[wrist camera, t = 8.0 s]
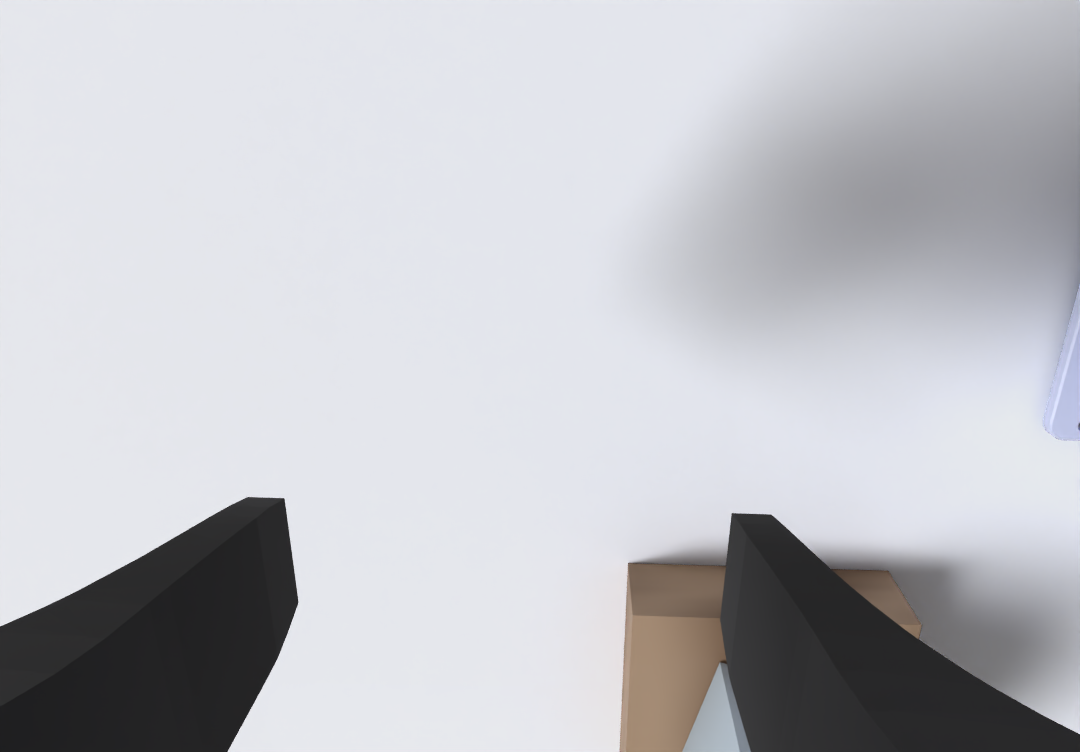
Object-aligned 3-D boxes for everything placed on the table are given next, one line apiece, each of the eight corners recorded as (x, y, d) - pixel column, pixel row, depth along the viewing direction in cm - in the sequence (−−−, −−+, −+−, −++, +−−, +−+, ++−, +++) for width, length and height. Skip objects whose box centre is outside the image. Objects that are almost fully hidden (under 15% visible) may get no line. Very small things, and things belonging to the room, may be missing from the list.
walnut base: (882, 561, 24) (921, 625, 21) (846, 752, 27) (876, 830, 24) (627, 554, 24) (632, 615, 22) (619, 742, 27) (622, 818, 24)
